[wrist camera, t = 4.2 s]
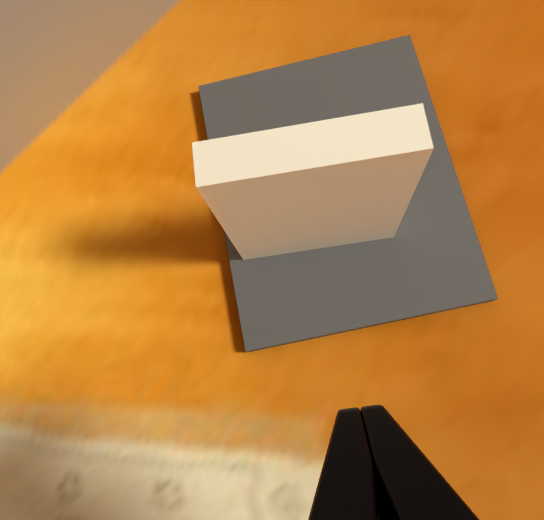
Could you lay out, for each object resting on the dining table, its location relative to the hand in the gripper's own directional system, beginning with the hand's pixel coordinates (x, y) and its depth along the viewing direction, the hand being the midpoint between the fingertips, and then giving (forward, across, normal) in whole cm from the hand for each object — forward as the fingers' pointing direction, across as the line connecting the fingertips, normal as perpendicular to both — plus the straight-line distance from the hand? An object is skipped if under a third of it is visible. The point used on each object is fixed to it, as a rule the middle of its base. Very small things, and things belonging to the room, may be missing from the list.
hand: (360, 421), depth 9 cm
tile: (+15, 0, +3) cm, 15 cm away
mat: (+17, -1, +2) cm, 17 cm away
